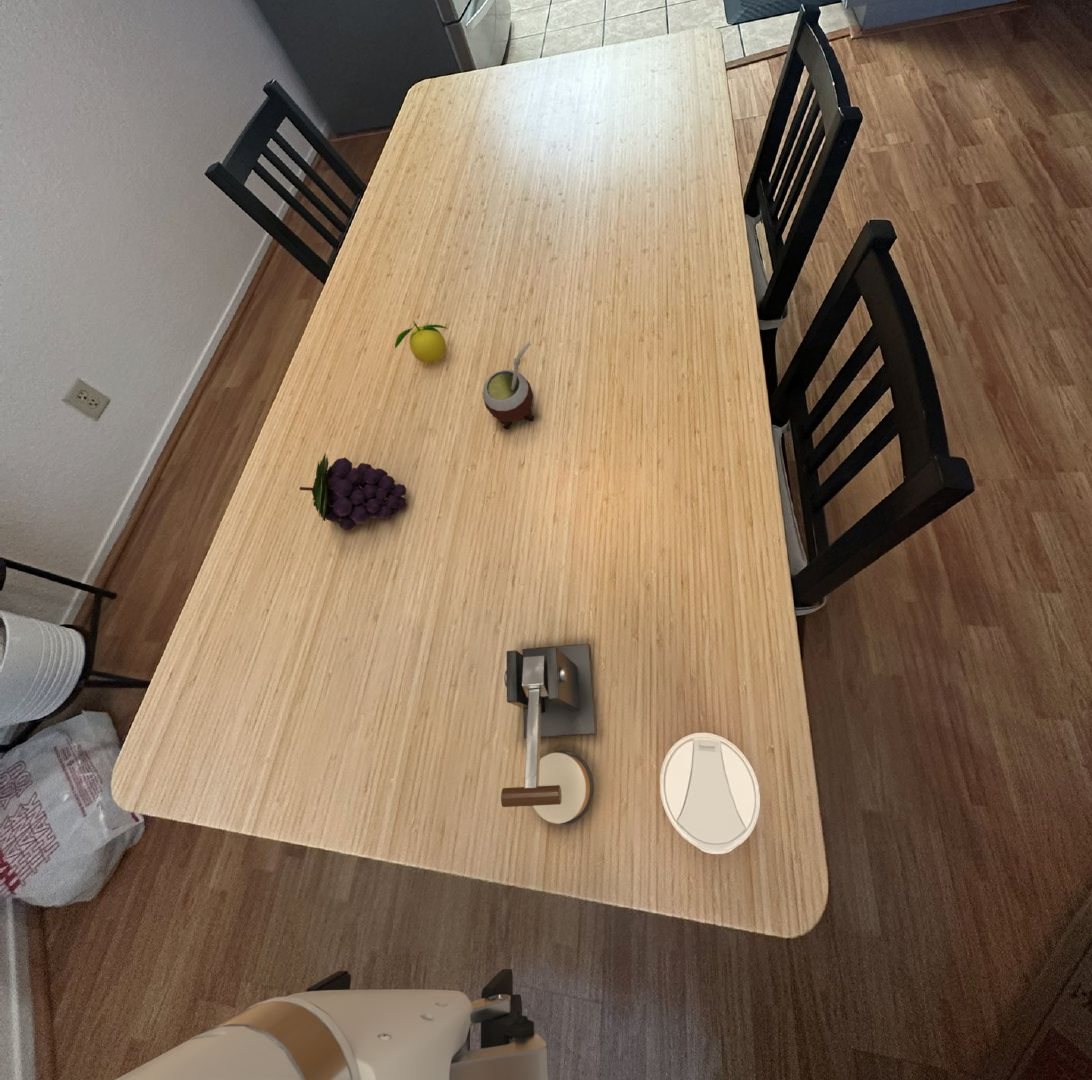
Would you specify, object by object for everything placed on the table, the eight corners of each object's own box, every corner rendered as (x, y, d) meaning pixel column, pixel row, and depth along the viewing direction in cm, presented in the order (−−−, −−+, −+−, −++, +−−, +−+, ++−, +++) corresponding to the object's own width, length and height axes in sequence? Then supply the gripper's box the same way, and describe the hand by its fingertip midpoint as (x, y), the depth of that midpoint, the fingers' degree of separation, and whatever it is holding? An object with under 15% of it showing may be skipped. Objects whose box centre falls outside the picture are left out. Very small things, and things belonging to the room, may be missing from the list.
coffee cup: (664, 735, 66) (658, 727, 54) (744, 742, 65) (755, 736, 52) (666, 833, 62) (660, 849, 49) (752, 844, 60) (767, 862, 48)
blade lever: (562, 809, 52) (557, 798, 50) (505, 812, 52) (498, 801, 51) (563, 666, 62) (558, 654, 60) (514, 670, 62) (509, 658, 61)
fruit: (408, 534, 88) (302, 534, 87) (414, 462, 93) (313, 461, 92) (397, 523, 79) (278, 522, 78) (404, 443, 83) (292, 442, 82)
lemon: (411, 371, 101) (386, 336, 93) (422, 342, 104) (399, 305, 96) (448, 375, 99) (426, 339, 91) (459, 345, 102) (438, 308, 94)
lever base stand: (597, 734, 68) (576, 726, 56) (526, 738, 69) (490, 732, 57) (590, 645, 73) (569, 620, 61) (524, 650, 74) (491, 627, 62)
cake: (596, 822, 63) (590, 825, 60) (535, 825, 64) (526, 828, 61) (590, 748, 67) (585, 747, 64) (533, 752, 68) (525, 751, 64)
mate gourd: (485, 422, 92) (453, 370, 80) (511, 381, 96) (485, 325, 84) (526, 441, 89) (500, 389, 77) (552, 398, 93) (531, 341, 80)
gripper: (-37, 1346, 19) (266, 1107, 33) (491, 1391, 17) (581, 1113, 31) (60, 1008, 24) (293, 920, 38) (493, 1006, 21) (571, 914, 35)
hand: (423, 1008), depth 34 cm, fingers open, 9 cm apart
